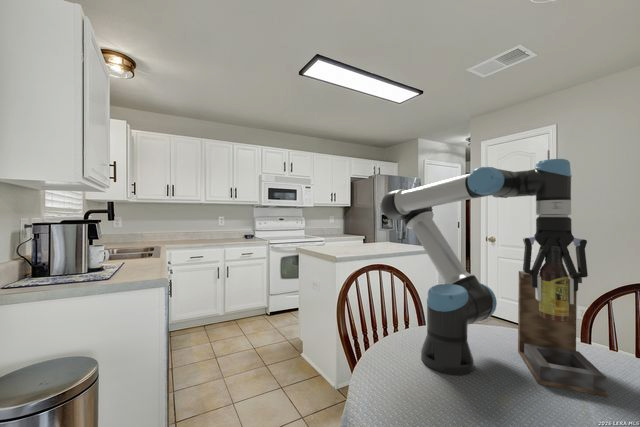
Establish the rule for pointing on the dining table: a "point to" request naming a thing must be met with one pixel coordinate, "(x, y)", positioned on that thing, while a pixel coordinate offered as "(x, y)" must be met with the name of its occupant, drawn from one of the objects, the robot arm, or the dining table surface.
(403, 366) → the dining table surface
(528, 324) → the stand
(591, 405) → the dining table surface
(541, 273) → the sauce bottle
